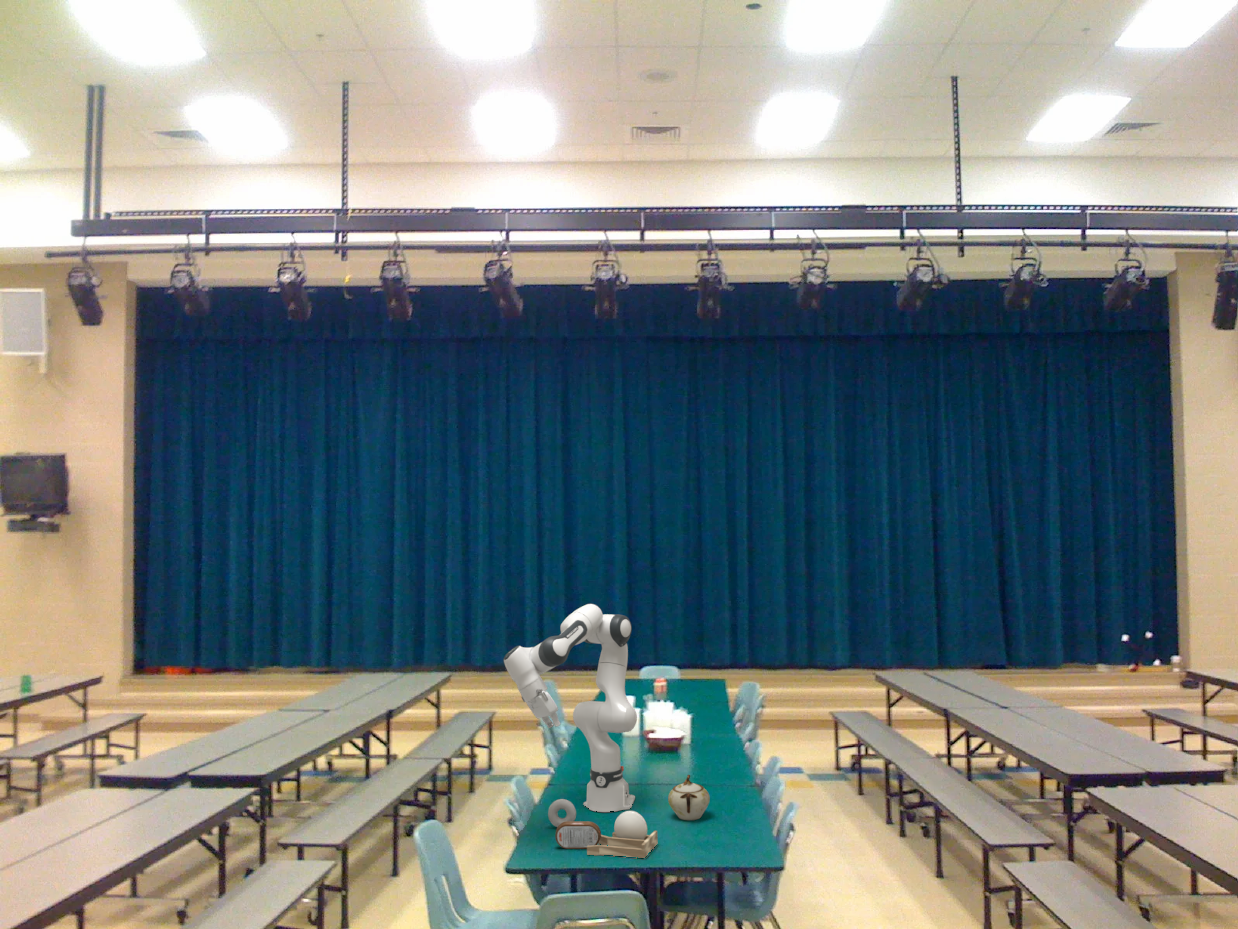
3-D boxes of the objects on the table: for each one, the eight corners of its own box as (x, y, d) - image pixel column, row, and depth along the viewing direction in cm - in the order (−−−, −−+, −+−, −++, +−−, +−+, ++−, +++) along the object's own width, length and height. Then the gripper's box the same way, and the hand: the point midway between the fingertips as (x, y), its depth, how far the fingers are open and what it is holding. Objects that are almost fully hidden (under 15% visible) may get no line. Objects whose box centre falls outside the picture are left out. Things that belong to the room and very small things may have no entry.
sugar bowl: (710, 825, 332) (709, 781, 333) (667, 825, 334) (666, 782, 335) (709, 808, 352) (708, 767, 353) (669, 808, 353) (668, 767, 354)
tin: (601, 846, 314) (600, 820, 314) (600, 849, 311) (599, 823, 311) (556, 846, 315) (555, 820, 315) (554, 850, 312) (554, 823, 312)
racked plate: (616, 843, 316) (615, 809, 317) (647, 846, 313) (646, 812, 313) (614, 845, 315) (613, 811, 316) (646, 847, 311) (645, 813, 312)
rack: (602, 839, 320) (602, 826, 321) (657, 844, 314) (657, 830, 314) (585, 855, 305) (585, 841, 305) (643, 861, 299) (642, 846, 299)
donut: (577, 826, 335) (576, 797, 336) (575, 830, 332) (574, 800, 332) (549, 826, 336) (548, 797, 337) (547, 829, 333) (546, 800, 333)
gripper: (549, 683, 319) (570, 719, 317) (535, 689, 337) (555, 723, 336) (533, 693, 316) (554, 730, 315) (520, 698, 335) (540, 733, 333)
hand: (554, 726), depth 325 cm, fingers open, 8 cm apart
